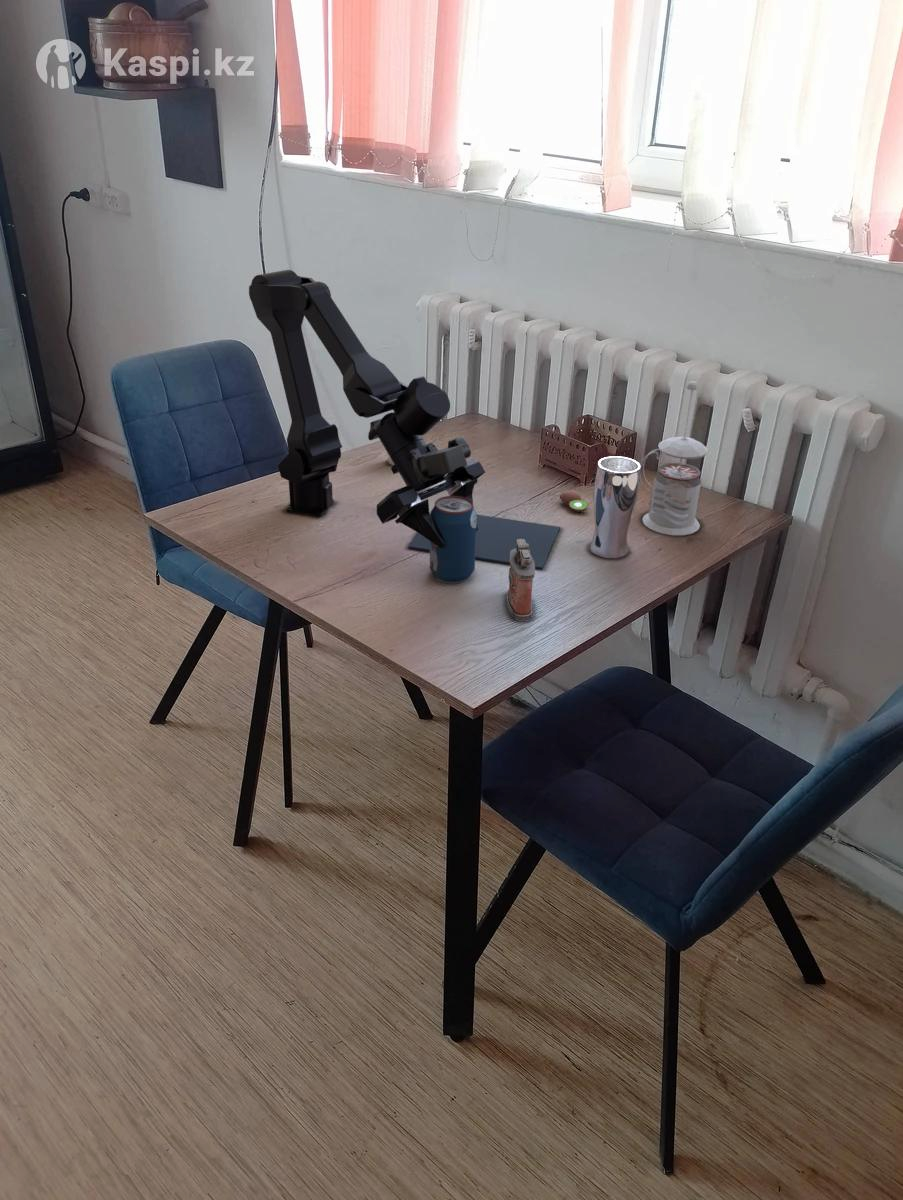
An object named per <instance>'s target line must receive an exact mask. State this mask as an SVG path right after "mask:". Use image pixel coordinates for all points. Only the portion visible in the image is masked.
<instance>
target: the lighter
mask: <svg viewBox="0 0 903 1200" xmlns="http://www.w3.org/2000/svg"><path fill="white" fill-rule="evenodd" d="M535 573H536V569H535V564H534V560H533V558H532V556H531V555H530V550H529V544H526V542H525V540H524V539H518V540H517V547H516V549H512V550H511V551H510V564H509V568H508V582H509V583H508V584H509V585H508V590H507V595H506V606H507V609H508V612H509V614H510V615H511V616H512V618H513V619H514V620H515V621H518V622H519V621H520V622H526V621H529V620H531V619H532V613H533V604H532V594H533V583H534V582H533V580H534V578H535V576H536V575H535Z"/></svg>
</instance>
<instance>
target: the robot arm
mask: <svg viewBox="0 0 903 1200" xmlns="http://www.w3.org/2000/svg"><path fill="white" fill-rule="evenodd" d="M248 296H249V299H250V301H251V305H252V307H253V311H254V313H255V316H256V318H257V320H258V321H259V322H260V323H261V324H262V325H263V326H264V327H265V328H266V330H267V331H268V332H269V333H270V336H271V340H272V343H273V344H272V345H273V348H274V352H275V356H276V361H277V365H278V369H279V373H280V378H281V381H282V386H283V390H284V394H285V398H286V402H287V406H288V410H289V415H290V420H291V423H290V426H289V431H288V434H287V437H286V444H287V451H288V454H287V455H285V457H284V458H283V459H282V461H280V462H279V464H278V465H277V468H278V472H279V474H280V475H279V476H280V477H281V479H284V480H286V481H288V492H289V493H288V494H289V505H288V506H287V507H286V508H285V511H286V512H288V513H293V514H300V515H307V516H314V517H321V516H323V515H324V514H325V513H326V512H327V511H328V509H329V508H330V507H331V506H332V505H333V504H334V503H335V500H334V497H333V483H332V482H331V481H330V473H334V472H336V471H337V469H338V464H339V460H340V459H341V458H342V448H343V445H342V443H341V440H340V437H339V428H338V427H337V425H336V424H335V423H332V424H330V423H329V422H328V420H327V419H326V418H324V416H323V415H322V411H321V408H320V402H319V399H318V394H317V389H316V385H315V381H314V377H313V372H312V368H311V363H310V359H309V355H308V350H307V346H306V342H305V337H304V333H303V328H302V326H303V322H304V320H305V319H306V320H307V322H308V324H309V325H310V327H311V328H312V330H313V331H314V333H315V334H316V336H317V337H318V339H319V341H320V342H321V343H322V345H323V347H324V349H326V351H327V353H328V354H329V355H330V357H331V359H332V360H333V362H334V363H335V365H336V366H337V368H338V369H339V372H340V374H341V375H342V390H343V392H344V395H345V397H346V399H347V401H348V402H349V404H350V407H351V409H352V410H353V412H354V413H355V414H356V415H357V416H358V417H360V418H361V417H362V418H365V419H369V418H372V417H375V416H378V415H381V414H385V413H386V414H385V415H384V416H382V417H381V418H379V419H376V420H373V421H371V422H370V423H369V425H370V426H369V431H368V434H367V438H368V440H369V441H374V440H377V439H379V441H380V442H381V444H382V446H383V448H384V450H385V451H386V453H387V455H388V454H389V456H390V458H391V460H392V461H393V463H394V465H392V467H390V471H391V472H392V474H393V475H396V474H399V476H400V478H401V479H402V481H403V482H404V484H405V486H403V487H400V488H398V489H396V490H395V489H394V490H393V491H391V492H390V493H388V494H387V495H386V496H384V498H383V499H382V500H380V502H378V503H377V504H376V516H377V517H378V519H379V520H380V522H381V524H382V525H384V524H385V523H388V522H390V521H393V520H394V522H395V524H397V525H398V524H401V525H404V526H406V527H407V528H409V529H411V530H413V531H414V532H416V533H417V534H418V533H419V534H421V535H422V536H424V537H425V538H426V539H428V540H429V541H431V542H432V543H434V544H435V545H436V546H438V547H439V548H443V547H445V546H446V544H445V541H444V539H443V537H442V535H441V533H440V531H439V529H438V527H437V526H436V524H435V522H434V520H433V518H432V517H431V512H430V505H429V499H428V498H430V497H433V496H436V495H437V494H438V495H439V494H441V493H442V492H445V491H446V492H447V494H448V496H461V497H465V498H468V499H470V500H471V501H472V502H473V503H474V499H473V493H474V492H473V491H474V488H475V485H476V484H477V483H478V479H479V478H481V477H482V476H483V475H484V474H485V473H486V471H485V469H484V467H483V466H482V464H481V462H480V461H479V460H477V459H474V458H472V459H470V460H467V459H469V458H470V457H471V455H472V451H471V449H470V445H469V444H468V442H467V441H466V440H465V438H464V437H463V436H460V437H456V438H452V439H449V440H448V442H447V447H445V448H442V449H438V448H437V446H436V444H435V443H433V442H430V443H427V442H426V441H425V439H424V437H423V436H425V435H426V434H427V433H429V432H430V431H431V430H432V429H433V428H434V427H435V426H436V425H438V423H440V421H442V419H444V418H445V417H446V416H447V415H448V414H449V412H450V411H451V402H450V398H449V396H448V394H447V392H446V391H445V390H443V389H442V388H440V386H438V385H437V384H434V383H432V382H428V380H427V379H426V376H424V375H422V376H419V377H416V378H415V377H414V378H412V380H411V381H410V382H409V384H405V383H403V382H402V381H399V379H398V378H397V376H396V375H395V374H394V373H393V372H392V371H391V370H390V368H388V366H387V365H386V364H385V363H383V362H381V361H379V360H378V359H376V358H375V357H373V356H372V355H371V354H369V352H368V351H367V350H366V348H365V347H364V344H363V343H362V341H361V340H360V339H359V338H358V336H357V335H356V332H355V330H354V329H353V328H352V327H351V325H350V324H349V322H348V321H347V319H346V318H345V316H344V314H343V312H341V310H340V308H339V307H338V305H337V304H336V302H335V300H334V299H333V298H332V292H331V289H330V287H329V286H328V284H326V283H325V282H323V281H317V280H316V281H315V280H314V279H313V278H312V277H306V276H301V275H298V274H297V273H296V272H295V271H293V270H292V269H283V270H278V271H273V272H266V273H261V274H256V275H255V276H254V277H253V278H252V279H251V283H250V285H249V286H248ZM304 318H305V319H304ZM391 411H392V412H391ZM387 412H388V413H387ZM474 505H475V504H473V507H474V508H475V506H474ZM476 531H478V526H477V525H476Z"/></svg>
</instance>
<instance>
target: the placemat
mask: <svg viewBox="0 0 903 1200" xmlns="http://www.w3.org/2000/svg"><path fill="white" fill-rule="evenodd" d="M477 526H478V531H476V549H475V560H481V561H485V562H493V563H498V564H504V565H510V551H511V550H512V549H516V547H517V540H518V539H524V540H525V542H526V544H529V550H530V555H531V556H532V558H533V560H534V564H535V570H543V569H544V567H545V564H546V562H547V559H548V557H549V555H550V552H551V550H552V548H553V546H554V543H555V541H556V538H557V537H558V534H559V532H560V529H561V527H560V526H558V525H557V526H556V525H549V524H542V523H536V522H530V521H523V520H517V519H509V518H502V517H496V516H489V515H483V514H477ZM408 549H410V550H417V551H424V552H428V553H430V541H429V540H428V539H426V538H425V537H424V536H422V535H421V534H419V533H418V532H417V534H416V536H415V537H414V538H413V539H412V541H411V542H410V544H409V545H408Z"/></svg>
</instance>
